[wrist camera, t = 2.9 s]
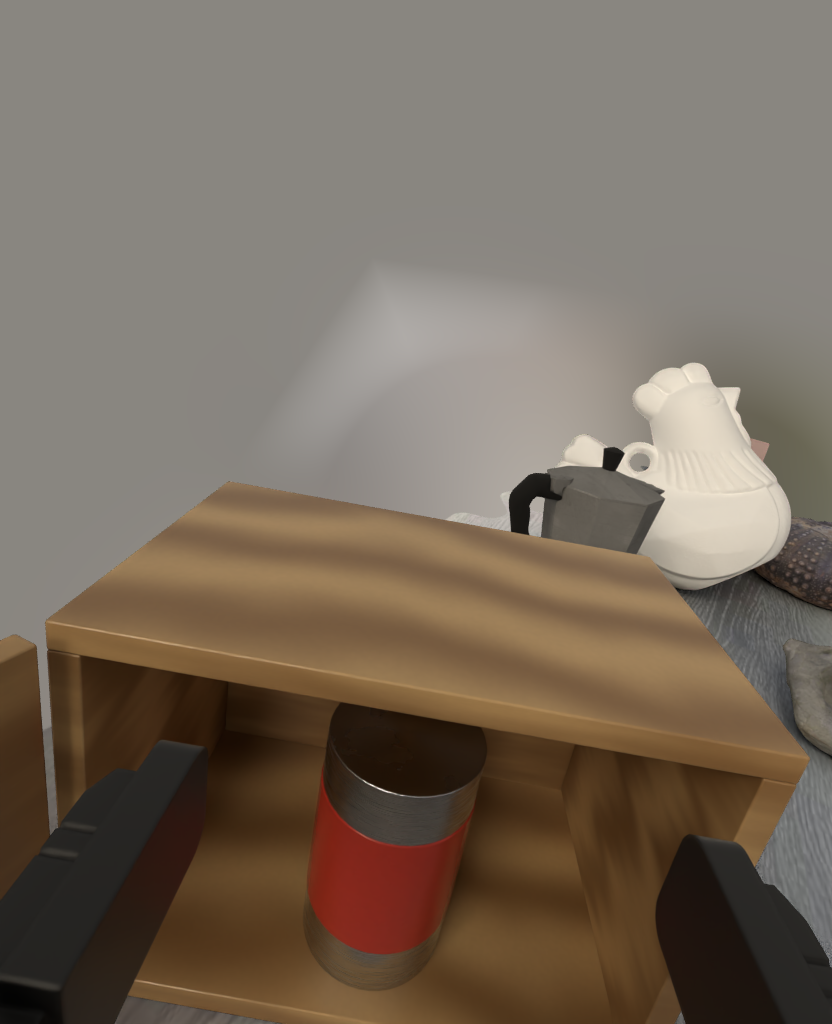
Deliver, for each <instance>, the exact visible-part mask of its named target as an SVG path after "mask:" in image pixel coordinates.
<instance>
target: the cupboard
mask: <svg viewBox="0 0 832 1024" xmlns="http://www.w3.org/2000/svg"><path fill="white" fill-rule="evenodd" d="M45 624H46V625H45V626H46V641H47V648H48V651H47V659H48V675H49V691H50V707H51V722H52V738H53V754H54V769H55V785H56V801H57V816H58V828H59V827H60V825H61V821H62V820H63V819H64V817H65V816H66V815H67V814H68V812H69V811H70V810H71V808H72V807H73V806H74V805H75V803H76V802H77V801H78V799H79V798H80V797H81V795H82V794H83V793H84V792H85V791H86V790H87V789H89V788H90V787H91V786H93V785H94V784H96V783H97V782H98V781H100V780H101V779H103V778H104V777H105V776H107V775H108V774H109V773H111V772H112V771H114V770H115V769H116V768H121V769H127V770H132V771H137V770H138V769H139V767H140V766H141V764H142V763H143V761H144V760H145V759H146V757H147V756H148V754H149V753H150V751H151V750H152V748H153V747H154V746H155V745H156V744H157V742H159V741H160V740H168V741H174V742H179V743H185V744H191V745H197V746H202V747H206V748H207V749H208V774H207V795H206V814H205V822H204V827H203V831H202V835H201V838H200V841H199V845H198V847H197V850H196V853H195V855H194V857H193V860H192V862H191V864H190V866H189V868H188V870H187V872H186V874H185V876H184V878H183V880H182V883H181V885H180V887H179V889H178V891H177V893H176V895H175V897H174V899H173V901H172V904H171V906H170V908H169V910H168V912H167V914H166V916H165V918H164V920H163V922H162V924H161V927H160V929H159V931H158V933H157V935H156V937H155V939H154V941H153V943H152V945H151V947H150V950H149V952H148V954H147V956H146V958H145V960H144V962H143V964H142V966H141V968H140V970H139V973H138V975H137V977H136V979H135V981H134V983H133V985H132V987H131V989H130V991H129V993H128V996H133V997H139V998H144V999H150V1000H155V1001H161V1002H166V1003H172V1004H177V1005H183V1006H188V1007H194V1008H199V1009H205V1010H210V1011H216V1012H221V1013H227V1014H232V1015H238V1016H243V1017H249V1018H254V1019H260V1020H266V1021H271V1022H277V1023H282V1024H675V1022H676V1020H677V1018H678V1016H679V1014H680V1012H681V1008H680V1005H679V1002H678V999H677V996H676V993H675V990H674V987H673V984H672V980H671V977H670V974H669V971H668V968H667V965H666V962H665V959H664V956H663V953H662V950H661V947H660V944H659V940H658V936H657V930H656V921H655V910H656V902H657V898H658V895H659V892H660V890H661V888H662V885H663V883H664V881H665V878H666V876H667V874H668V871H669V869H670V867H671V864H672V862H673V860H674V857H675V855H676V853H677V850H678V848H679V846H680V843H681V841H682V839H683V838H684V837H685V836H686V835H688V834H693V835H699V836H704V837H710V838H716V839H721V840H727V841H733V842H736V843H738V844H740V845H741V846H742V847H743V848H744V850H745V851H746V853H747V854H748V856H749V858H750V860H751V861H752V863H753V865H754V867H755V866H756V864H757V862H758V860H759V858H760V857H761V855H762V853H763V851H764V849H765V847H766V845H767V843H768V841H769V839H770V837H771V835H772V833H773V831H774V829H775V827H776V825H777V823H778V822H779V820H780V818H781V816H782V814H783V812H784V810H785V808H786V806H787V804H788V802H789V800H790V798H791V796H792V794H793V792H794V790H795V789H796V784H797V783H798V782H799V780H800V778H801V776H802V774H803V772H804V771H805V769H806V767H807V765H808V763H809V761H810V758H809V756H808V755H807V753H806V752H805V751H804V750H803V748H802V747H801V746H800V745H799V743H798V742H797V741H796V740H795V738H794V737H793V736H792V735H791V733H790V732H789V731H788V730H787V728H786V727H785V726H784V725H783V723H782V722H781V721H780V720H779V718H778V717H777V716H776V715H775V713H774V712H773V711H772V710H771V708H770V707H769V706H768V705H767V703H766V702H765V701H764V700H763V698H762V697H761V696H760V695H759V693H758V692H757V691H756V690H755V688H754V687H753V686H752V685H751V683H750V682H749V681H748V680H747V678H746V677H745V676H744V675H743V673H742V672H741V671H740V669H739V668H738V667H737V666H736V664H735V663H734V662H733V661H732V659H731V658H730V657H729V656H728V654H727V653H726V652H725V651H724V649H723V648H722V647H721V646H720V644H719V643H718V642H717V641H716V639H715V638H714V637H713V636H712V634H711V633H710V632H709V631H708V629H707V628H706V627H705V626H704V624H703V623H702V622H701V621H700V619H699V618H698V617H697V616H696V614H695V613H694V612H693V611H692V609H691V608H690V607H689V606H688V604H687V603H686V602H685V601H684V599H683V598H682V597H681V596H680V594H679V593H678V592H677V591H676V589H675V588H674V587H673V586H672V584H671V583H670V582H669V581H668V579H667V578H666V577H665V575H664V574H663V573H662V572H661V570H660V569H659V568H658V567H657V565H656V564H655V563H654V562H653V560H652V559H651V558H650V557H647V556H642V555H636V554H631V553H625V552H619V551H614V550H608V549H603V548H597V547H592V546H586V545H581V544H575V543H569V542H564V541H558V540H553V539H547V538H542V537H536V536H530V535H525V534H519V533H514V532H508V531H503V530H497V529H491V528H486V527H480V526H475V525H469V524H464V523H458V522H453V521H447V520H441V519H436V518H430V517H424V516H419V515H414V514H407V513H402V512H397V511H391V510H386V509H380V508H375V507H369V506H363V505H358V504H352V503H347V502H341V501H335V500H330V499H324V498H318V497H313V496H308V495H302V494H296V493H291V492H286V491H280V490H274V489H269V488H263V487H258V486H252V485H247V484H241V483H235V482H230V481H229V482H227V483H226V484H224V485H223V486H222V487H220V488H219V489H218V490H216V491H215V492H214V493H213V494H211V495H210V496H208V497H207V498H206V499H205V500H203V501H202V502H201V503H199V504H198V505H197V506H196V507H194V508H193V509H191V510H190V511H189V512H187V513H186V514H185V515H184V516H182V517H181V518H180V519H178V520H177V521H176V522H174V523H173V524H172V525H171V526H169V527H168V528H167V529H165V530H164V531H162V532H161V533H160V534H159V535H157V536H156V537H155V538H153V539H152V540H151V541H149V542H148V543H147V544H145V545H144V546H143V547H141V548H140V549H139V550H138V551H136V552H135V553H134V554H132V555H131V556H130V557H128V558H127V559H126V560H125V561H123V562H122V563H120V564H119V565H118V566H116V567H115V568H114V569H113V570H111V571H110V572H109V573H107V574H106V575H105V576H104V577H102V578H101V579H99V580H98V581H97V582H96V583H94V584H93V585H92V586H90V587H89V588H88V589H86V590H85V591H84V592H82V593H81V594H80V595H78V596H77V597H76V598H74V599H73V600H72V601H70V602H69V603H68V604H67V605H65V606H64V607H63V608H61V609H60V610H59V611H58V612H56V613H55V614H53V615H52V616H51V617H49V618H48V619H47V620H46V622H45ZM340 702H343V703H349V704H354V705H360V706H365V707H371V708H377V709H382V710H388V711H393V712H399V713H404V714H410V715H415V716H421V717H427V718H432V719H438V720H443V721H449V722H454V723H460V724H465V725H471V726H476V727H481V728H482V730H483V732H484V735H485V739H486V743H487V758H486V762H485V765H484V769H483V773H482V777H481V780H480V784H479V788H478V792H477V795H476V804H475V808H474V812H473V816H472V819H471V823H470V827H469V830H468V834H467V838H466V842H465V845H464V849H463V853H462V857H461V860H460V864H459V868H458V872H457V875H456V879H455V883H454V887H453V890H452V894H451V898H450V901H449V905H448V909H447V912H446V914H445V916H444V919H443V923H442V927H441V930H440V934H439V938H438V942H437V945H436V948H435V950H434V953H433V955H432V957H431V958H430V960H429V962H428V963H427V965H426V966H425V967H424V968H423V970H422V971H421V972H420V973H418V974H417V975H416V976H415V977H414V978H412V979H411V980H410V981H408V982H407V983H405V984H402V985H400V986H398V987H395V988H392V989H389V990H383V991H365V990H359V989H355V988H352V987H349V986H347V985H345V984H343V983H341V982H339V981H337V980H336V979H334V978H333V977H331V976H330V975H329V974H328V973H327V972H326V971H325V970H324V969H323V968H322V967H321V966H320V965H319V963H318V962H317V961H316V959H315V958H314V956H313V954H312V953H311V951H310V948H309V946H308V944H307V941H306V938H305V934H304V928H303V907H304V900H305V893H306V886H307V871H308V863H309V856H310V849H311V842H312V835H313V828H314V821H315V814H316V807H317V800H318V793H319V786H320V779H321V772H322V767H323V763H324V760H325V753H326V746H327V739H328V732H329V725H330V721H331V717H332V715H333V713H334V710H335V709H336V708H337V706H338V705H339V703H340Z"/></svg>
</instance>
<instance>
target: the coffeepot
mask: <svg viewBox="0 0 832 1024" xmlns="http://www.w3.org/2000/svg"><path fill="white" fill-rule="evenodd" d="M624 454H625V453H624V452H623V451H621V450H619V449H618V448H615V447H610V448H604V452H603V464H602V467H586V466H564V467H558V468H553V469H548V470H547V472H548V473H545V474H542V473H533V474H530V475H528V476H527V477H526V478H525V479H524V480H523V481H522V482H521V483H520V484H519V485H518V486H517V487H516V488H514V490H513V491H512V493H511V494H510V498H509V511H510V521H511V532H514V533H519V534H525V535H529V532H528V526H529V520H530V507H529V505H530V503H531V501H532V500H533V499H534V498H535V497H543V498H545V503H544V512H543V522H542V532H541V537H542V538H547V539H553V540H558V541H564V542H569V543H575V544H581V545H586V546H592V547H597V548H603V549H608V550H614V551H619V552H625V553H631V554H636V555H637V553H638V551H639V549H640V547H641V545H642V543H643V541H644V539H645V537H646V535H647V533H648V531H649V529H650V528H651V526H652V524H653V522H654V520H655V518H656V516H657V514H658V512H659V510H660V508H661V506H662V504H663V503H664V501H665V498H664V497H662V496H661V494H662V493H664V492H665V491H664V490H662V489H659V488H657V487H655V486H654V485H652V484H647V483H646V482H644V481H641V480H638V479H635V478H632V477H629V476H626V475H624V474H622V473H620V472H618V471H616V470H617V468H618V466H619V464H620V462H621V460H622V458H623V456H624Z"/></svg>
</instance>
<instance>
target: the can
mask: <svg viewBox="0 0 832 1024" xmlns="http://www.w3.org/2000/svg"><path fill="white" fill-rule="evenodd" d="M486 758H487V743H486V739H485V735H484V732H483V730H482V728H481V727H476V726H471V725H465V724H460V723H454V722H449V721H443V720H438V719H432V718H427V717H421V716H415V715H410V714H404V713H399V712H393V711H388V710H382V709H377V708H371V707H365V706H360V705H354V704H349V703H343V702H340V703H339V705H338V706H337V708H336V709H335V710H334V713H333V715H332V717H331V721H330V725H329V732H328V739H327V746H326V753H325V760H324V763H323V767H322V772H321V779H320V786H319V793H318V800H317V807H316V814H315V821H314V828H313V835H312V842H311V849H310V856H309V863H308V871H307V886H306V893H305V900H304V907H303V928H304V934H305V938H306V941H307V944H308V946H309V948H310V951H311V953H312V954H313V956H314V958H315V959H316V961H317V962H318V963H319V965H320V966H321V967H322V968H323V969H324V970H325V971H326V972H327V973H328V974H329V975H330V976H331V977H333V978H334V979H336V980H337V981H339V982H341V983H343V984H345V985H347V986H349V987H352V988H355V989H359V990H365V991H383V990H389V989H392V988H395V987H398V986H400V985H402V984H405V983H407V982H408V981H410V980H411V979H412V978H414V977H415V976H416V975H417V974H418V973H420V972H421V971H422V970H423V968H424V967H425V966H426V965H427V963H428V962H429V960H430V958H431V957H432V955H433V953H434V950H435V948H436V945H437V942H438V938H439V934H440V930H441V927H442V923H443V919H444V916H445V914H446V912H447V909H448V905H449V901H450V898H451V894H452V890H453V887H454V883H455V879H456V875H457V872H458V868H459V864H460V860H461V857H462V853H463V849H464V845H465V842H466V838H467V834H468V830H469V827H470V823H471V819H472V816H473V812H474V808H475V804H476V795H477V792H478V788H479V784H480V780H481V777H482V773H483V769H484V765H485V762H486Z"/></svg>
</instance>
